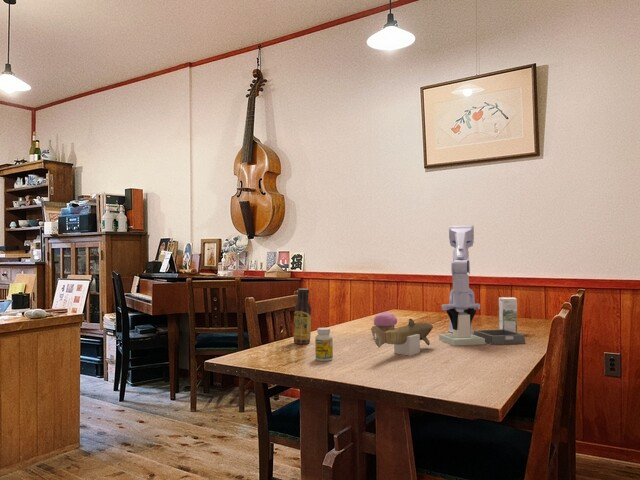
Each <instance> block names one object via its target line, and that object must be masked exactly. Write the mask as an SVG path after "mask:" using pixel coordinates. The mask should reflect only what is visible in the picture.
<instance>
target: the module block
mask: <svg viewBox="0 0 640 480" xmlns="http://www.w3.org/2000/svg"><path fill="white" fill-rule="evenodd" d="M452 334H453V335H454V336H457V337H470V315H469V314H467V313H465V312H459V313H458V320H457V330H454V329H453V333H452Z"/></svg>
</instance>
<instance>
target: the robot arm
mask: <svg viewBox="0 0 640 480" xmlns="http://www.w3.org/2000/svg"><path fill="white" fill-rule="evenodd" d="M474 227H475V226H474V225H473V224H469V225H468V224H464V225H452V224H451V225H449V227H448V239H449V244H450V246H451V247H452V248H454V249H453V251H452V262H451V264H450V265H451V266H450V267H451V268H450V270H451V275H452V276H451V278H452V279H451V280H452V289H451V290H450V292H449V303H447V304H445V303H444V304H441V311H446V313H447V315H448V317H449V318H448V319H449V329H447V332H449V333H451V334H453V329H454V330H457V320H458V313H459V312H465V313H467V314H469V315H470V334H472V335H474V331H473V330H472V329H473V328H472V327H473V326H472V324H473V323H472V322H473V319H474V317H475V316H476V314H477V310H481V303H476V302H475V301H476V299H475V292H474V290H472V289H471V288H470V277H469V276H470V275H471V274H470V273H471V265H470V264H471V262H470V258H469V256H470V254H469V253H470V251H469V249H470V248H471V247H473V246H474V242H475V241H474V240H475V237H474V236H475V228H474Z"/></svg>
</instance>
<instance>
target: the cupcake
mask: <svg viewBox="0 0 640 480" xmlns="http://www.w3.org/2000/svg"><path fill="white" fill-rule="evenodd" d="M397 323H398V318H397V317H396V316H395V314H393V313H392V312H388V311H384V312H379V313H377V314H376V315H375V317H374V319H373V326H377V327H379V328H380V329H381V330H382V331H383V332H386V331H388V330H390V329H391V328H390V326H393V327H394V328H395V326H396V325H397Z"/></svg>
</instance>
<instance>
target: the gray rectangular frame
mask: <svg viewBox="0 0 640 480" xmlns="http://www.w3.org/2000/svg"><path fill="white" fill-rule="evenodd" d="M473 332H474V334H473V335H475V336H479V337H482V338H485V344H489V345H496V346H497V345H511V344H512V345H513V344H515V345H516V344H525V343H526V337H525V334H524V333H520V332H517V333H516V332H513V331H509V330H505V329H499V328H498V329H480V330H479V329H477V330H473Z"/></svg>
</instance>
